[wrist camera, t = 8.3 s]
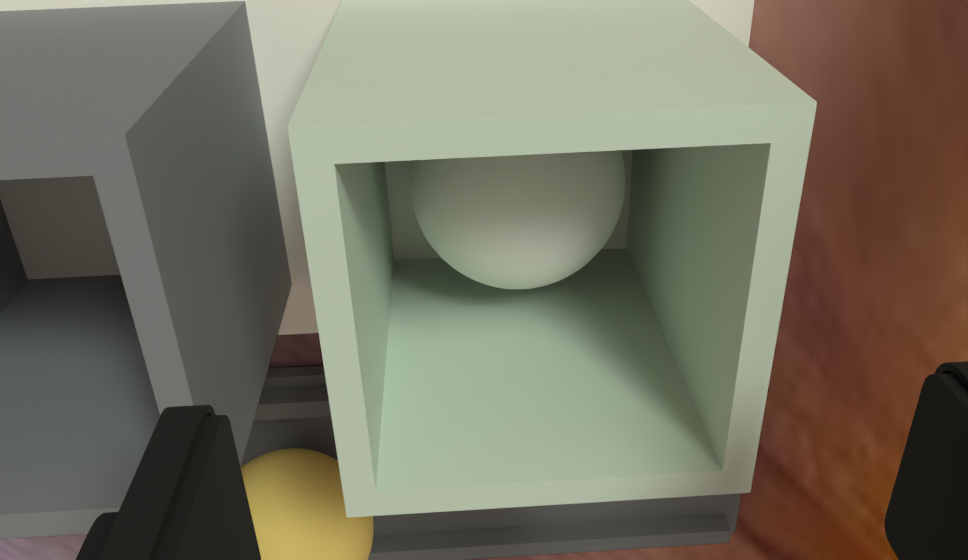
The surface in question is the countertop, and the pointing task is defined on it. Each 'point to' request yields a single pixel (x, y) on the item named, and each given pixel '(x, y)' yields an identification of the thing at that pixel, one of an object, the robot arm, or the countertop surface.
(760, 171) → the grey double box
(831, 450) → the countertop surface
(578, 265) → the white ball
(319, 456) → the mustard ball
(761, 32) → the countertop surface
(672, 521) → the mat
